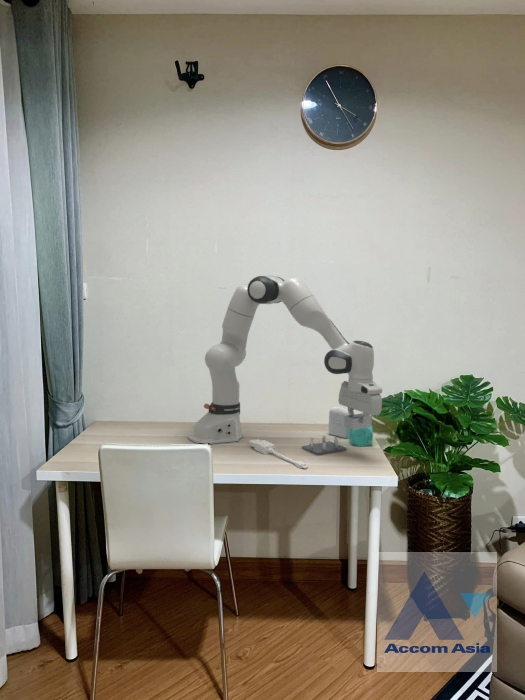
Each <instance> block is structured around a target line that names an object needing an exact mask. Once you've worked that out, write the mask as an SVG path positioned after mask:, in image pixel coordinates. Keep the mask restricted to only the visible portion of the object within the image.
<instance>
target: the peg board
mask: <svg viewBox="0 0 525 700" xmlns="http://www.w3.org/2000/svg"><path fill="white" fill-rule="evenodd" d="M321 438H322V439H321V440H322V441H321V442H318V443H315V441H314V437H310V438H309V439H310V442H309V443H310V444H308V445H307V444H306V445H302V446H301V449H302V450H303V451H306V452H308V453H311V454H312V455H316V456H322V455H327V454H332V453H333V454H334V453H336V452H344V451H347V447H346V446H344V445H341V444H339V440H338V436H334V439H333V441H330V440H329V441H326V435H322V437H321Z"/></svg>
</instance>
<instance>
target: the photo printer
mask: <svg viewBox="0 0 525 700" xmlns="http://www.w3.org/2000/svg"><path fill="white" fill-rule="evenodd" d="M328 414H329V415H328V434H329V435H331V436H334V437H340V438H344V439H347V440H348V439H350V428H347V427H345V426H344V418H345V416H347V415H349V412H348V408H347V407H345V406H343V407H342V406H331V407H330V408H329V413H328Z"/></svg>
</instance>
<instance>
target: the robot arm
mask: <svg viewBox="0 0 525 700" xmlns="http://www.w3.org/2000/svg"><path fill="white" fill-rule="evenodd" d="M279 303H283V304H284V305H285V307H286V308H287V310H288V312H289V313H290V315H291V316H292V318H293V320H295V321H296V323H298V324H299V325H300V326H302V327H305V328H307V329H311V330H314V331H316V332H317V333H319V334H320V336H322V338H323V339H324V341H325V342H326V343H327V344H328V346H329V347H330V349H331V350H329V351H328V352H327V353H326V354H325V356H324V360H323V363H324V367H325V369H326V370H327V371H328V372H329V373H331V374H333V375H341V374H348V381H346V380H345V381H343V382H342V383H341V384H340V389H339V394H338V400H337V401H338V404H339V405H341V406H343V407H345V408H347V409H348V412H349V415H354V414H355V411H358V412H361V413H363V415H364V417H363V419H361V423H362V424H367V419H368V418H369V416H379V415H381V412H382V407H383V405H382V404H383V399H382V395H381V394H383V388H382V387H381V386H380V385H378V384H377V383H376V382H375V381H374V376H373V370H374V368H375V367H374V366H375V353H374V348H373V346H372V344H371V343H369V342H367V341H363V340H353V341H351V342H350V343H349V342H348V341H347V340H346V338H345V337H344V336H343V334H342V333H341V332H340V331H339V329H338V327H336V325H335V324H334V322H333V321H332V320H331V319H330V318H329V316H328V315H327V313H326V312H325V310H323V308H322V306H321V304H320V303H319V302H318V300H317V298H316V297H315V295H314V294H313V293H312V291H311V290H310V288H309V287H308V286H307V285H306V284H305V283H304V282H303V281H302V280H301V279H300V278H299V277H296V276H294V277H293V276H292V277H289V278H286V279H283V278H282V277H280V276H275V275H258V276H256V277H254V278H252V279H251V280H250V281H249V283H248V284H241V285H240V284H239V286H237V287H236V289H235V291H234V292H233V294H232V297H231V299H230V301H229V303H228V305H227V309H226V312H225V314H224V315H225V316H224V319H223V321H222V324H221V325H222V326H221V328H222V334H221V335H222V336H221V341H220V343H218V344H216V345H213V346H211V348H209V350H207V352H206V353H205V355H204V362H205V365H206V367H207V368H208V369H209V375H210V378H211V379H210V380H211V388H212V391H211V392H212V393H211V395H212V397H211V398H212V402H211V403H210V404H209V403H204V405H203V409H206V410H208V411H207V412H206V413H205V414H204V415H203V416H202V417H201V418H200V419H199V420H198V421H196V422H195V424H194V429H193V433H189V434H188V439H189V440H190V441H191V442H193V443H196V444H199V443H205V444H204V445H210V444H211V445H213V444H223V443H225V444H226V443H234V442H239V441H240V439H242V438H243V437H244V436H243V435H244V434H243V431H242V427H241V419H240V414H241V402H240V382H239V381H238V379H237V374H236V367H239V366H240V365H241V364H242V363H243V362H244V360H245V358H246V356H247V350H246V348H247V344H248V343H247V341H248V337H249V332H250V329H251V327H252V324H253V320H254V319H255V314H256V311H257V308H258V307H259V305H272V304H279ZM354 410H355V411H354ZM208 443H210V444H208Z"/></svg>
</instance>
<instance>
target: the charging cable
mask: <svg viewBox="0 0 525 700" xmlns="http://www.w3.org/2000/svg"><path fill="white" fill-rule="evenodd" d="M248 443H249V444H248V445H249V446H251V447H253V449H254V450H255V451H256V452H258V453H260V452H261V454H262V453H263V454H262V455H264V454H265V455H270V454H275V455H277V456H279V457H281V458H282V459H285V460H287V461H289V462H291V463H293V464H294V465H295V467H296V468H298V469H308V468H309V466H307V464H306V463H305V462H303V461H301V460H300V461H296V460H294V459H291V458H290V457H287V456H285V455H283V454H281V453H279V452H278V451H276V444H274V443H272V442H270V441H267V440H265V439H263V440H261V439H258V438H257V439H253V440H252V439H251V440H249V442H248Z"/></svg>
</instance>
